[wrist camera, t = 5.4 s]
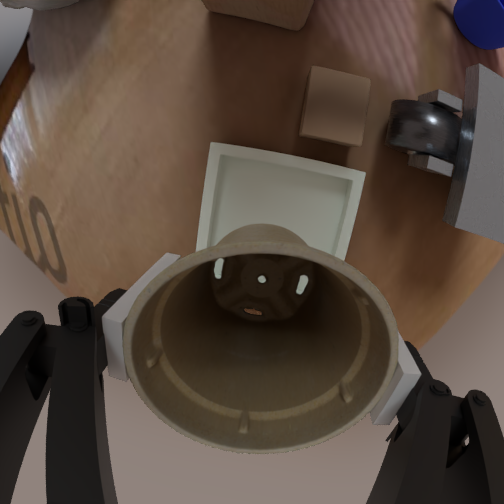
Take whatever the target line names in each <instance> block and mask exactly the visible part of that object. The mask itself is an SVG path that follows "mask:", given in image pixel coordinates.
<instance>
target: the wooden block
mask: <svg viewBox="0 0 504 504" xmlns="http://www.w3.org/2000/svg"><path fill="white" fill-rule="evenodd" d="M202 2H203V3H204V5H205V7H206V8H207V9H208V10H210V11H212V12H217V13H223V14H228V15H233V16H238V17H243V18H247V19H252V20H256V21H260V22H264V23H268V24H272V25H275V26H279V27H283V28H286V29H289V30H297V31H298V30H300V29H301V28H302V27H303V26H304V25H305V22H306V20H307V17H308V15H309V12H310V10H311V7H312V5H313V2H314V0H202Z"/></svg>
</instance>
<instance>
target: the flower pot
mask: <svg viewBox="0 0 504 504" xmlns="http://www.w3.org/2000/svg"><path fill="white" fill-rule="evenodd" d="M219 258H222V259H223V260H224V262H223V265H222V271H221V278H220V279H218V278H216V277H215V273H214V268H215V263H216V261H217V260H218V259H219ZM301 275H305V276H307V277H308V283H307V285H306V287H305V288H304V291H303V293H302V294H298V293H297V292H296V290H297V287H298V284H299V281H300V276H301ZM260 276H264V277H265V279H266V281H265V282H264V283H261V282H259V280H258V278H259V277H260ZM245 308H247V309H253V308H255V310H258V311H261V312H262V315H255V314H250V313H247V312H245V311H244V309H245ZM398 336H399V334H398V329H397V323H396V320H395V317H394V315H393V313H392V310H391V308H390V306H389V304H388V302H387V301H386V299H385V298H384V296H383V295H382V293H381V292H380V291H379V290H378V288H377V287H376V286H375V285H374V284H373V283H372V282H371V281H370V280H369V279H368V278H367V277H366V276H365V275H363V274H362V273H361V272H359V271H358V270H357V269H356V268H354V267H353V266H351V265H349V264H348V263H346V262H345V261H343V260H341V259H339V258H337V257H335V256H333V255H331V254H329V253H326V252H324V251H321V250H318V249H315V248H313V247H310V246H308V245H307V244H306V242H305V241H304V240H303V239H301V238H300V237H299V236H298V235H297V234H295V233H294V232H292V231H290V230H288V229H286V228H284V227H281V226H278V225H273V224H264V223H261V224H250V225H246V226H243V227H241V228H238V229H236V230H234V231H232V232H230V233H229V234H227V235H226V236H225V237H223V238H222V239H221V240H220V241H219V242H218V244H216V245H215V246H212V247H209V248H205V249H202V250H200V251H197V252H194V253H191V254H189V255H187V256H185V257H183V258H181V259H179V260H178V261H176V262H174V263H172V264H171V265H170V266H168V267H167V268H165V269H164V270H163V271H162V272H160V273H159V274H158V275H157V276H156V277H155V278H153V279H152V280H151V281H150V282H149V283H148V285H147V286H146V287H145V288H144V289H143V290H142V291H141V293H140V294H139V295H138V296H137V298H136V300H135V301H134V303H133V305H132V307H131V309H130V311H129V314H128V316H127V319H126V322H125V326H124V333H123V342H122V344H123V345H122V347H123V355H124V362H125V365H126V369H127V373H128V375H129V378H130V380H131V382H132V383H133V386H134V388H135V390H136V392H137V393H138V395H139V396H140V398H141V399H142V400H143V401H144V403H145V404H146V405H147V407H148V408H149V409H150V410H151V411H152V412H153V413H154V414H155V415H156V416H157V417H158V418H159V419H161V420H162V421H163V422H164V423H166V424H167V425H169V426H170V427H171V428H173V429H174V430H176V431H177V432H179V433H180V434H183V435H184V436H186V437H188V438H190V439H192V440H194V441H197V442H199V443H201V444H204V445H208V446H211V447H213V448H218V449H221V450H224V451H231V452H236V453H248V454H251V453H252V454H269V453H284V452H289V451H295V450H299V449H303V448H308V447H310V446H314V445H317V444H320V443H322V442H325V441H327V440H329V439H331V438H333V437H335V436H337V435H339V434H341V433H342V432H344V431H346V430H347V429H349V428H350V427H352V426H354V425H355V424H356V423H358V422H359V421H360V420H362V419H363V418H364V417H365V416H366V414H367V413H369V412H370V411H371V410H372V409H373V408H374V407H375V406H376V405H377V403H378V402H379V401H380V399H381V398H382V396H383V394H384V393H385V391H386V389H387V387H388V385H389V383H390V382H391V379H392V377H393V375H394V372H395V369H396V365H397V362H398V353H399V350H398V346H399V337H398Z"/></svg>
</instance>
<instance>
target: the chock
mask: <svg viewBox="0 0 504 504" xmlns="http://www.w3.org/2000/svg"><path fill="white" fill-rule="evenodd" d="M370 84H371V79H368V78H365V77H361V76H357V75H354V74H350V73H346V72H342V71H337V70H333V69H329V68H324V67H319V66H314V65H312V67H311V70H310V72H309V75H308V78H307V85H306V91H305V98H304V104H303V111H302V117H301V123H300V130H299V136H301V137H306V138H311V139H316V140H321V141H326V142H331V143H335V144H340V145H344V146H349V147H356V146H362V140H363V134H364V128H365V121H366V115H367V108H368V100H369V93H370Z"/></svg>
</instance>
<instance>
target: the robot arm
mask: <svg viewBox="0 0 504 504" xmlns="http://www.w3.org/2000/svg"><path fill="white" fill-rule="evenodd" d="M180 257H181V255H176V254H172V253H166V254H165V255H164V256H163V257H161V258H160V259H159V260H158V261H157V262H156V263H155V264H154V265H153V266H152V267H151V268H150V269H149V270H148V271H147V272H146V273H145V274H144V275H143V276H142V277H141V278H140V279H139V280H138V281H137V282H136V283H135V284H134V285H133V286H132V287H131V288H130V289H129V290H124V289H120V288H119V289H116V290H114V291H112V292H110V293H108V294H107V295H106V296H105V297H104V299H102V300H101V301H100V302H99V304H97V305H96V306H95V307H94V306H93V302H91V301H90V300H89V299H87V298H84V297H70V298H67V299H64V300H63V301H61V302H60V304H59V305H58V309H59V316H60V322H61V326H56V325H49V324H45V322H44V317H43V315H42V314H41V313H39V312H37V311H24V312H22V313H19V314H18V315H17V316H16V317H15V318H14V319H13V320H12V321H11V323H10V324H9V325H8V326H7V328H6V329H5V330H4V332H3V333H2V334H1V335H0V504H10V503H11V499H12V495H13V492H14V488H15V484H16V481H17V478H18V474H19V471H20V467H21V465H22V461H23V458H24V455H25V452H26V449H27V446H28V444H29V441H30V438H31V435H32V433H33V430H34V427H35V425H36V422H37V419H38V417H39V414H40V412H41V410H42V407H43V405H44V402H45V400H46V398H47V395H48V393H49V391H50V398H49V407H48V418H47V434H46V496H47V504H118V502H117V497H116V491H115V486H114V480H113V475H112V468H111V461H110V454H109V446H108V438H107V428H106V416H105V402H104V383H103V382H104V381H103V375H102V372H103V371H104V369H105V368H106V366H108V373H109V376H111V377H114V378H116V379H119V380H122V381H125V382H127V380H128V379H129V375H128V373H127V369H126V365H125V362H124V355H123V347H122V345H123V344H122V342H123V333H124V326H125V322H126V319H127V316H128V314H129V311H130V309H131V307H132V305H133V303H134V301H135V300H136V298H137V296H138V295H139V294H140V293H141V291H142V290H143V289H144V288H145V287H146V286H147V285H148V283H149V282H150V281H151V280H152V279H153V278H155V277H156V276H157V275H158V274H159V273H160V272H162V271H163V270H164V269H165V268H167V267H168V266H170V265H171V264H172V263H174V262H176V261H178V260H179V259H180ZM398 334H399V336H398V337H399V346H398V350H399V353H398V362H397V365H396V369H395V372H394V375H393V377H392V379H391V382H390V383H389V385H388V387H387V389H386V391H385V393H384V394H383V396H382V398H381V399H380V401H379V402H378V403H377V405H376V406H375V407H374V408H373V409H372V410H371V411H370V416H371V419H372V423H373V425H390V423H391V422H392V420H393V419H394V417H395V416H396V415H397V418H398V421H399V422H398V424H397V425H396V427H395V428H394V429H393V431H392V432H391V434H390V435H389V436H388V438H387V439H386V441H387V442H388V440H389V439H390V438H391V440H390V443H389V446H388V449H387V452H386V455H385V458H384V460H383V463H382V466H381V469H380V471H379V474H378V476H377V479H376V481H375V484H374V486H373V489H372V491H371V493H370V496H369V498H368V500H367V503H366V504H504V437H503V435H502V431H501V428H500V425H499V422H498V419H497V416H496V413H495V411H494V408H493V405H492V403H491V400H490V399H489V397H488V396H486V394H485V393H484V392H482V391H479V390H470V391H469V392H468V394H467V395H466V396H465V398H461V397H457V396H453V395H452V393H451V390H450V389H449V387H448V386H447V385H446V384H444V383H443V382H441V381H439V380H435V379H433V378H432V376H431V374H430V372H429V370H428V369H427V367H426V365H425V364H424V363H423V360H422V358H421V357H420V354H419V353H418V351H417V349H416V348H415V347H414V346H413V345H412V344H411V343H410V342H408V341H403V339H402V337H401V335H400V333H399V332H398ZM50 388H51V389H50ZM468 436H469V443H468V445H467V446H466V445H465V440H466V439H467V438H468Z"/></svg>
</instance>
